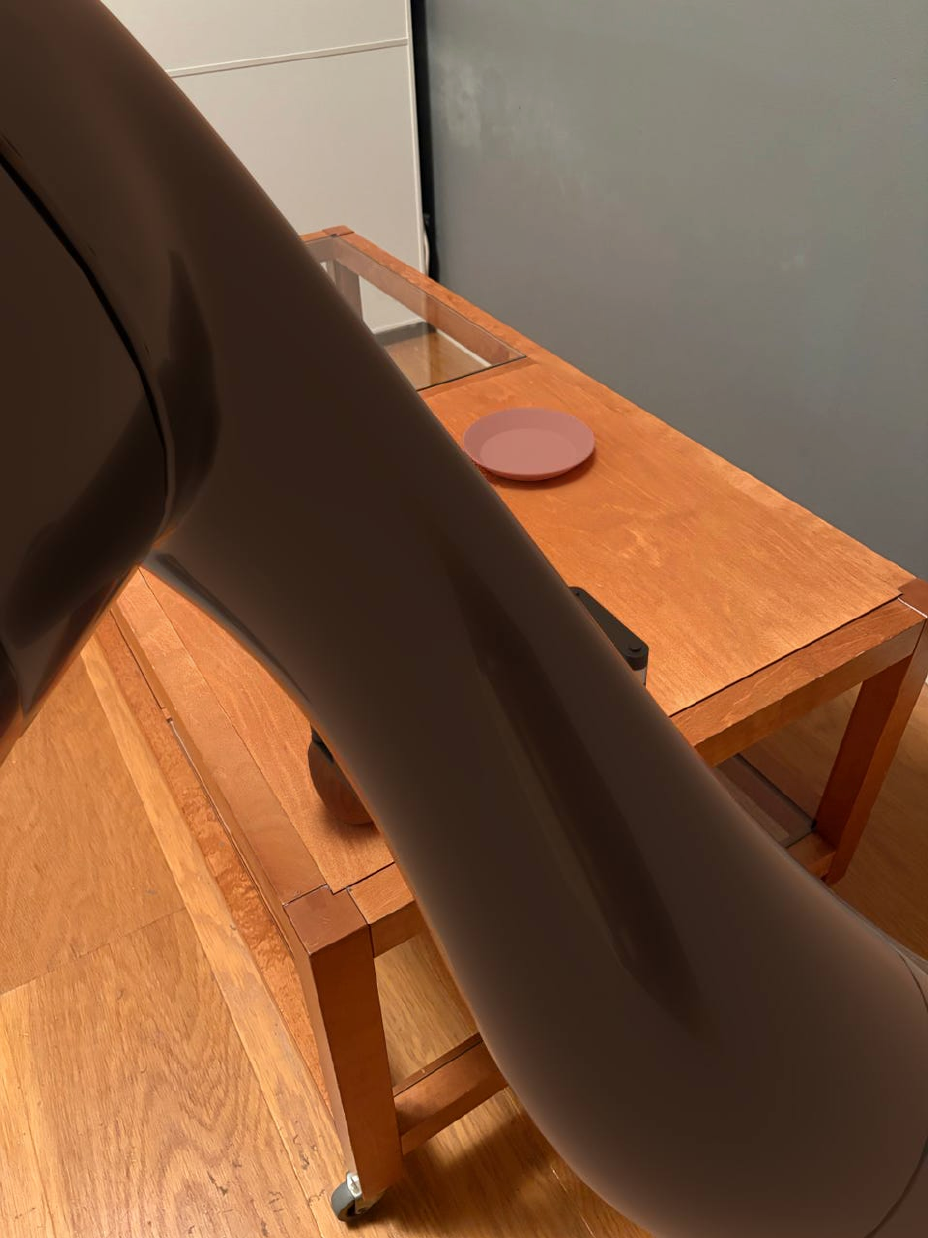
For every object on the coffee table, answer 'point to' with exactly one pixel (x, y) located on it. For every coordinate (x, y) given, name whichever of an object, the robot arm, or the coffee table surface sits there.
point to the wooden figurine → (335, 791)
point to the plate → (528, 443)
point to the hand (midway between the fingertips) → (401, 609)
